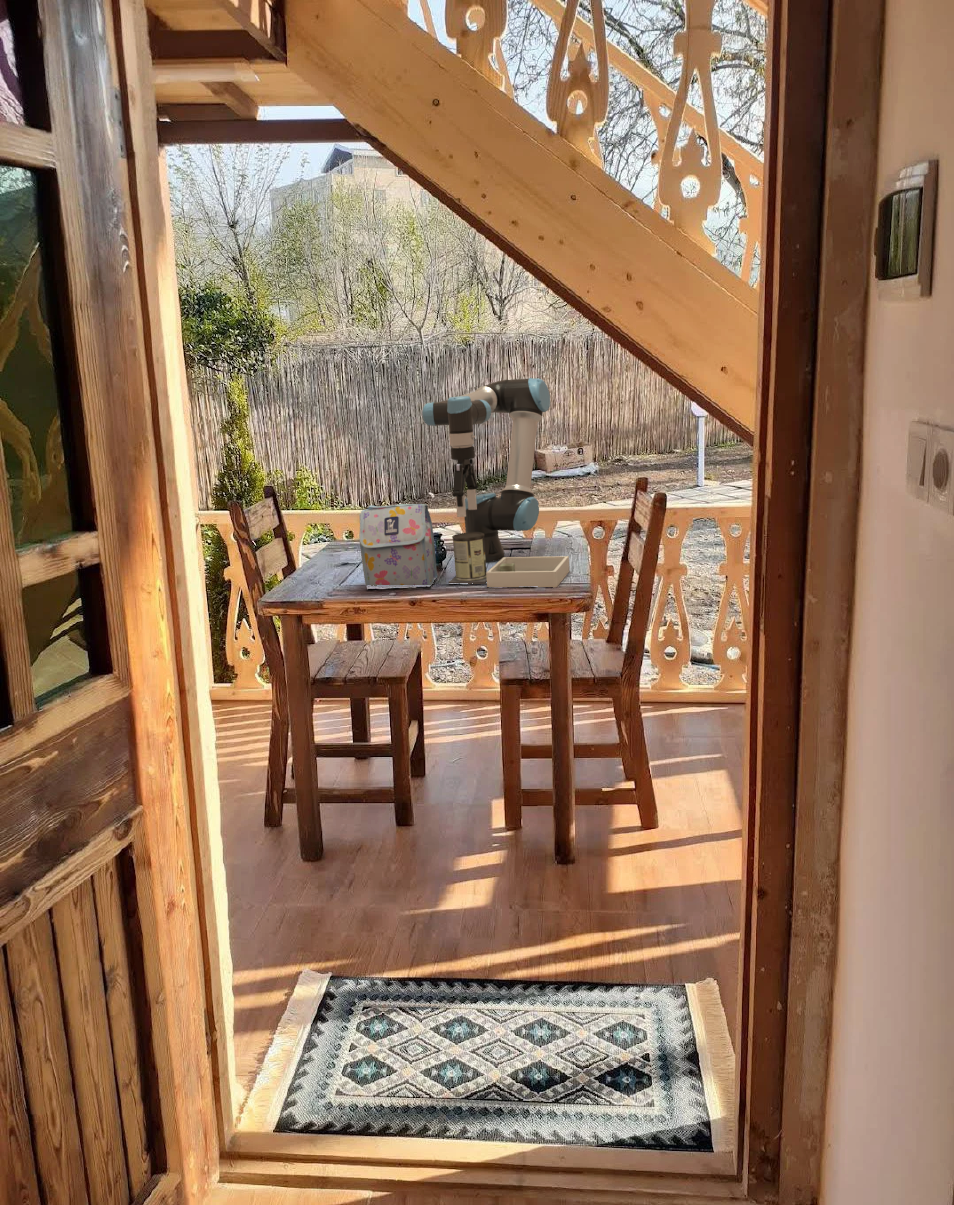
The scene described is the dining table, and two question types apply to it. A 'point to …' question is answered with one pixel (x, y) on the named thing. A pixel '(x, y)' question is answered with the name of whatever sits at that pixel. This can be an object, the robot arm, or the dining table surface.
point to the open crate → (529, 572)
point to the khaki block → (507, 567)
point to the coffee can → (469, 556)
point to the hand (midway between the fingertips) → (467, 513)
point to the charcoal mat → (481, 581)
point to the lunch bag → (397, 545)
